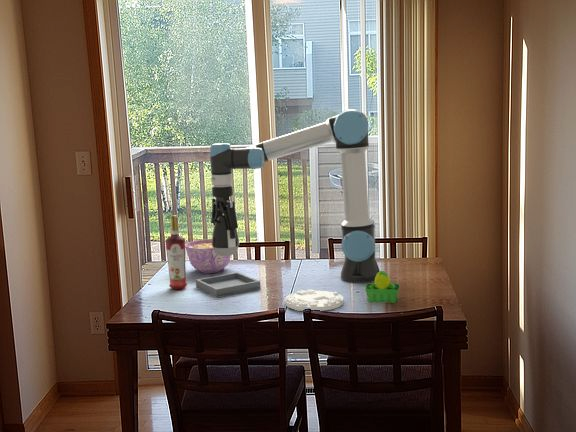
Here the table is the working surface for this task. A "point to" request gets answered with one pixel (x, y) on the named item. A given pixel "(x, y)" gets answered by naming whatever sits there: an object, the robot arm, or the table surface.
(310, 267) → the table surface
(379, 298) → the fruit basket
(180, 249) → the liquor
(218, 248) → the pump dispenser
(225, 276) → the tray
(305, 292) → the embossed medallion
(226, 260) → the bowl of food
